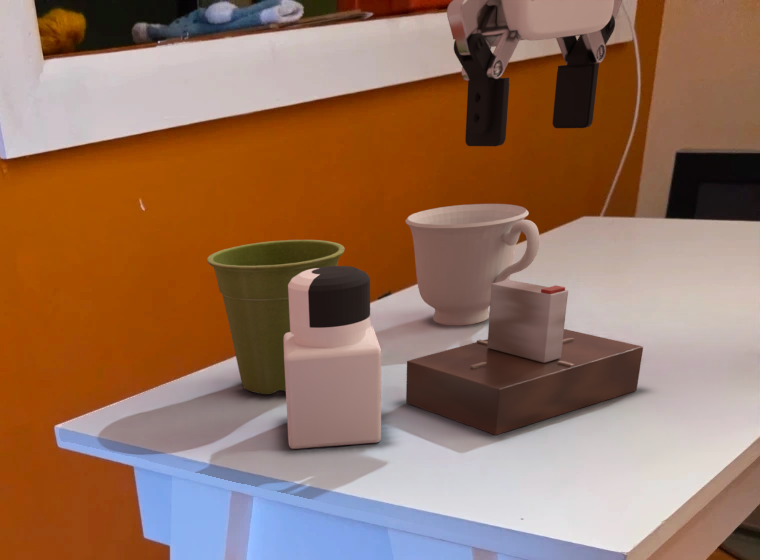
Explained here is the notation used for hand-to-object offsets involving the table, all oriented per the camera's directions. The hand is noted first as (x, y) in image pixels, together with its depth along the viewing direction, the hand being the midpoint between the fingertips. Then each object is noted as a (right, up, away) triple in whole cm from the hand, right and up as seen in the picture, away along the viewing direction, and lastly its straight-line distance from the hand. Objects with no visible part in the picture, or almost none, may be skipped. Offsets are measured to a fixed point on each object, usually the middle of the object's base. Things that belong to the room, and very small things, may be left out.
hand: (529, 136), depth 70 cm
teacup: (+4, -1, +30) cm, 30 cm away
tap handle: (+2, -13, +7) cm, 15 cm away
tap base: (+2, -16, +9) cm, 19 cm away
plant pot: (-17, -12, +18) cm, 28 cm away
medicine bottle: (-14, -20, +7) cm, 25 cm away
